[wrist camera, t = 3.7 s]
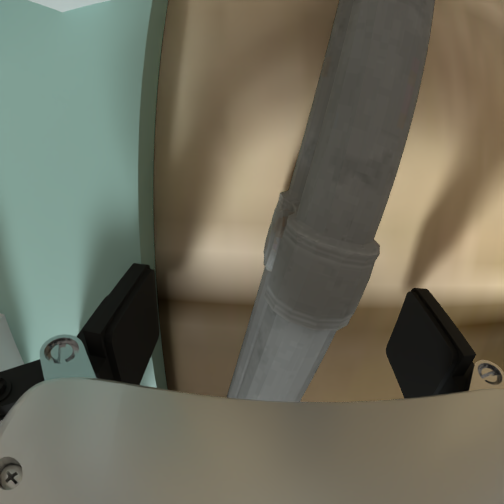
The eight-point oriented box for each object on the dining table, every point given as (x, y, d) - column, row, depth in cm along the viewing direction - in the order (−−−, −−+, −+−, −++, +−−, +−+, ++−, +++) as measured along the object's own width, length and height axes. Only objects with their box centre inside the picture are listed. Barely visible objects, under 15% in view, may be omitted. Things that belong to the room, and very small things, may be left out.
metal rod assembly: (245, 450, 18) (241, 514, 13) (204, 443, 18) (194, 507, 13) (399, -5, 7) (469, -53, 3) (330, -31, 7) (368, -103, 3)
